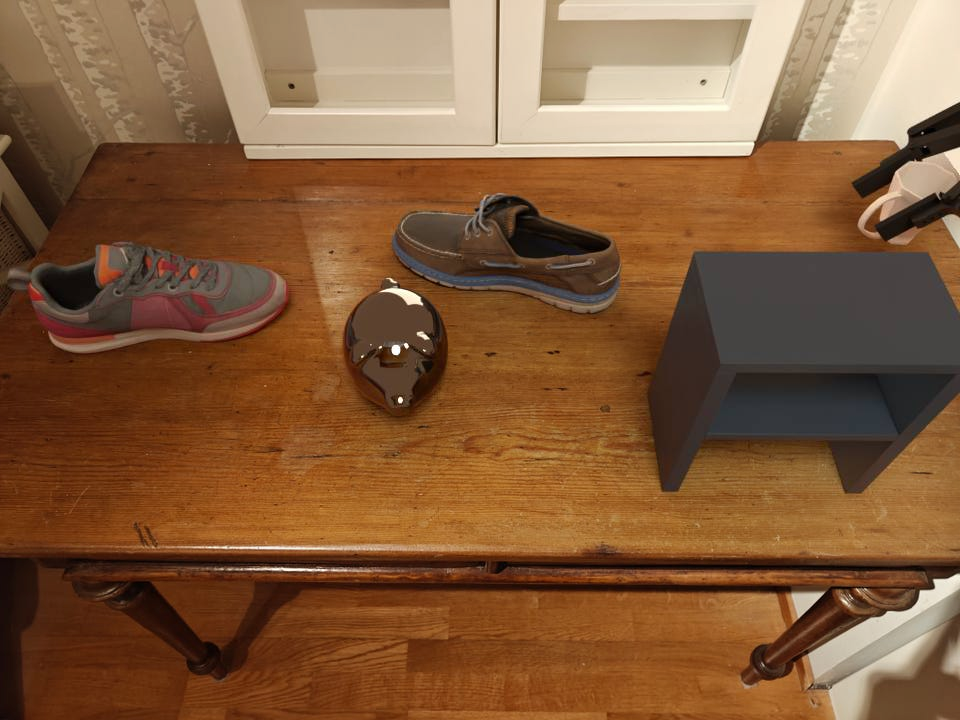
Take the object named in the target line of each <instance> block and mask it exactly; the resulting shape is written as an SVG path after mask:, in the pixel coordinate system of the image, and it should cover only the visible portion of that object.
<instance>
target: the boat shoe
mask: <svg viewBox="0 0 960 720" xmlns="http://www.w3.org/2000/svg"><path fill="white" fill-rule="evenodd" d="M473 211H474V212H472V213H471V212H470V213H469V212H467V213H466V212H455V211H446V210H428V209H420V210H418V209H415V210H411V211H409V212H407V213H405V214H404V215H403V216H402V217H401V218H400V219H399V222H398V224H397V225H396V227H395V231H394V233H393V235H392V239H391V244H392V247H393V248H392V249H393V251H394V254H395V256H397V257H398V259H399V261H400V262H401V263H402V264H403V265H404V266H405V267H407V268H408V269H410V270H411V271H412V272H414V273H415V274H417V275H419V276H421V277H424V279H426V280H428V281H431V282H433V283H435V284H439V285H441V286H444V287H447V288H452V289H453V288H455V289H458V290H467V291H470V290H473V291H488V290H490V291H498V290H499V291H507V292H513V293H520V294H523V295H527V296H532V297H533V298H535V299H539V300H540V301H542V302H544V303H546V304H548V305H551V306H555V307H556V308H558V309H561V310H565V311H571V312H572V313H573V312H574V313H578V314H587V313H589V314H596V313H600V312H603V311H605V310H606V309H608V308H609V307H611V305H613V303H614V301H615V300H616V298H617V294H618V290H619V286H620V283H621V274H620V273H621V272H622V267H623V266H622V261H621V255H620V253H619V250H618V247H617V244H616V241H615V239H614V238H613V237H611V236H610V235H607V234H606V233H604V232H601V231H598V230H595V229H591V228H587V227H583V226H579V225H577V224H573V223H569V222H567V221H563V220H559V219H556V218H553V217H550V216H546V215H545V214H542V213H540V211H539V209H538V208H537V206H536V205H535V204H534V203H532V202H531V201H530V200H528V199H527V198H525V197H523V196H521V195H517V194H511V193H509V194H506V193H502V192H500V193H499V192H498V193H495V194H493V195H490V194H486V195H484V196H483V198H482V200H480V202H479V205H478V206H475V207H474V208H473ZM475 212H476V213H475Z"/></svg>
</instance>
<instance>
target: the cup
mask: <svg viewBox="0 0 960 720" xmlns="http://www.w3.org/2000/svg"><path fill="white" fill-rule="evenodd" d="M957 182H959V180H958V177H957V175H956V173H953V172H952V171H950V170H949V169H947V168H945V167H942V166H941V165H939V164H938V163H936V162H934V161H923V162H917V161H916V160H915V161H909V162H907V163H906V164H905V165H903V166H902V167H901V168H899V169H898V170H897V171H896V172H895V175H894V177H893V180H892V182H891V183H890V184H889V188H888V191H887V192H886V194H884V195H882V196H880V197H879V198H877V199H876V200H874V201H873V202H872V203H870V205H869V206H868V207H867V208H866V209H865V210H864V211H863V212H862V215H861V216H860V218H859V219H858V222H857V228H858V229H859V231H860V232H861V233H862V234H863V235H864V236H866V237H867V238H870V239H873V240H878V239H882V237H881V236H880V235H879V233H878V232H877V231H876V232H872V231H868V230H866V229H865V226H866V223H867V222H868V221H869V219H870V217H872V215H873V214H874V213H875V211H876V210H878V209H879V208H881V210H880V215H879V222H881V221H883V220H884V219H886V218H888V217H890V216H892V215H894V214H896V213H897V212H899V211H901V210H903V209H905V208H907V207H909V206H910V205H912V204H914V203H916V202H918V201H920V200H922V199H923V198H925V197H927V196H929V195H931V194H933V193H936V195H937V196H938V198H939V193H940V191H941V192H943V193H946V192H947V191H948V190H949V189H951V188H952V187H953V186H954V185H955V184H956V183H957ZM939 199H940V198H939ZM940 200H941V199H940ZM881 206H882V207H881ZM926 227H927V226H925V227H923V228H919V229H917V227H916V226H915V227H913V228H911V229H909V230H907V231H906V232H904V233H902V234H900V235H898V236H896V237H894V238H892V239H890V240H888V241H887V242H888V243H889V244H891V245H903V246H906V245H908V244H910V242H911V241H912V240H914V239H915V237H916V235H917V234H919V233H920V232H921V231H922V230H924V229H925V228H926Z"/></svg>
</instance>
